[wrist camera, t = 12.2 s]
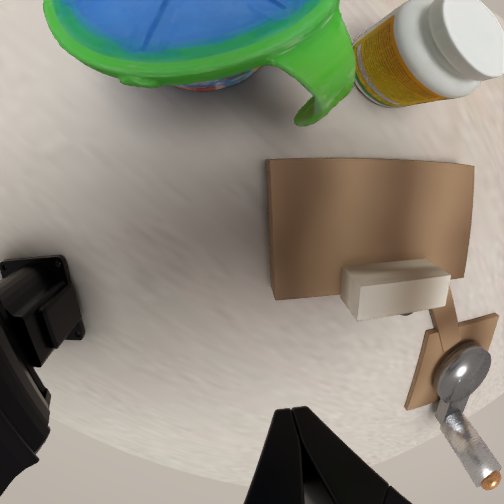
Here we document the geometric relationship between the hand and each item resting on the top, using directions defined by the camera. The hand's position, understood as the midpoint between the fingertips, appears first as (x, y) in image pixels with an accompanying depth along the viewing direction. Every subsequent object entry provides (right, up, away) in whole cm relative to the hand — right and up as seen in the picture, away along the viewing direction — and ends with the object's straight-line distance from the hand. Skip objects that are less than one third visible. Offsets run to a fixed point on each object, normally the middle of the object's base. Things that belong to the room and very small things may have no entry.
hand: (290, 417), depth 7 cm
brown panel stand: (+11, 0, +14) cm, 18 cm away
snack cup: (-4, +17, +8) cm, 19 cm away
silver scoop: (+18, -8, +16) cm, 26 cm away
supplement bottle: (+7, +16, +9) cm, 20 cm away
